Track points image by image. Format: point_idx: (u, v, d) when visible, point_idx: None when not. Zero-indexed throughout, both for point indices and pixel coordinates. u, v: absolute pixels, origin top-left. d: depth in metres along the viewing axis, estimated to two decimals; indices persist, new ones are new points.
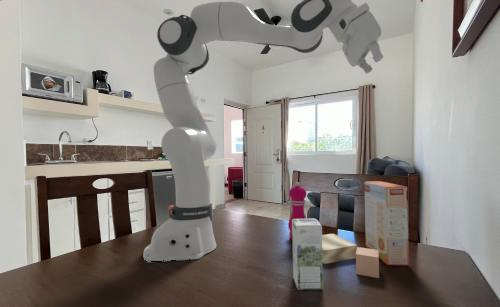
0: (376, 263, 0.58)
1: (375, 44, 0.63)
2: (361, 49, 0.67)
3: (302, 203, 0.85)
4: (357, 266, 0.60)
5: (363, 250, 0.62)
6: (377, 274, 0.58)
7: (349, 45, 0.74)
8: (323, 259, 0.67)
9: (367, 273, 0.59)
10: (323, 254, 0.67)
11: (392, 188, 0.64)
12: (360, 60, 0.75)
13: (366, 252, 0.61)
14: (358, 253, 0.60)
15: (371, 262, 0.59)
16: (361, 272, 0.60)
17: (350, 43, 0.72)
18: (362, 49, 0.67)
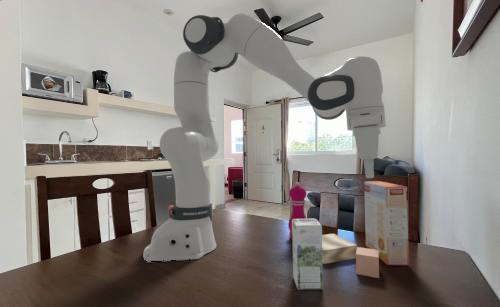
0: (376, 263, 0.58)
1: (370, 161, 0.56)
2: None
3: (302, 203, 0.85)
4: (357, 266, 0.60)
5: (363, 250, 0.62)
6: (377, 274, 0.58)
7: None
8: (322, 259, 0.67)
9: (367, 273, 0.59)
10: (323, 254, 0.67)
11: (392, 188, 0.64)
12: None
13: (366, 252, 0.61)
14: (358, 253, 0.60)
15: (371, 262, 0.59)
16: (361, 272, 0.60)
17: None
18: None
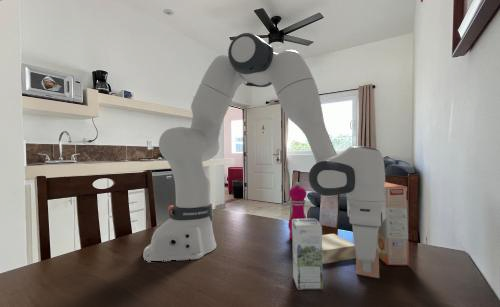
0: (376, 263, 0.58)
1: None
2: None
3: (302, 203, 0.85)
4: (357, 265, 0.60)
5: None
6: (377, 274, 0.58)
7: None
8: (322, 259, 0.67)
9: (367, 273, 0.59)
10: (323, 254, 0.67)
11: (392, 188, 0.64)
12: None
13: None
14: None
15: (371, 262, 0.59)
16: (361, 272, 0.60)
17: None
18: None
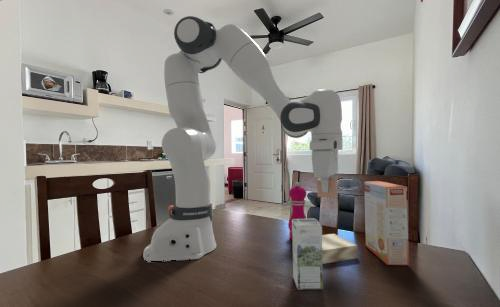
0: (333, 185, 0.70)
1: (325, 179, 0.69)
2: None
3: (302, 203, 0.85)
4: (318, 189, 0.72)
5: None
6: (334, 194, 0.70)
7: None
8: (322, 259, 0.67)
9: (326, 194, 0.71)
10: (322, 254, 0.67)
11: (392, 188, 0.64)
12: None
13: None
14: (319, 179, 0.72)
15: (329, 185, 0.70)
16: (321, 194, 0.71)
17: None
18: None
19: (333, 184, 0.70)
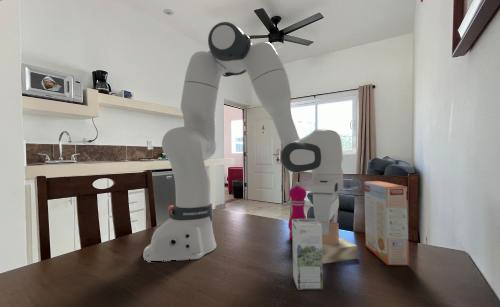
0: (334, 233, 0.70)
1: (325, 221, 0.68)
2: None
3: (302, 203, 0.85)
4: None
5: None
6: (335, 242, 0.70)
7: None
8: None
9: (327, 241, 0.71)
10: (322, 254, 0.67)
11: (392, 188, 0.64)
12: None
13: None
14: None
15: (330, 232, 0.71)
16: (322, 241, 0.72)
17: None
18: None
19: (334, 231, 0.70)
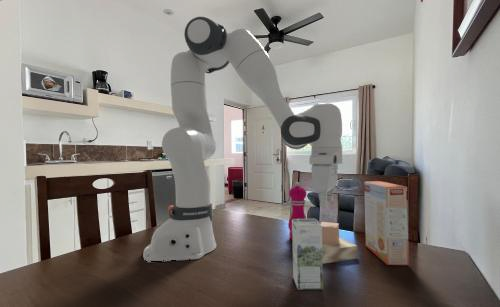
0: (334, 233, 0.70)
1: (323, 194, 0.67)
2: None
3: (302, 203, 0.85)
4: None
5: (325, 223, 0.74)
6: (335, 242, 0.70)
7: None
8: None
9: (327, 241, 0.71)
10: (322, 254, 0.67)
11: (392, 188, 0.64)
12: None
13: (328, 225, 0.73)
14: (321, 225, 0.72)
15: (331, 232, 0.71)
16: (323, 241, 0.72)
17: None
18: None
19: (335, 231, 0.70)
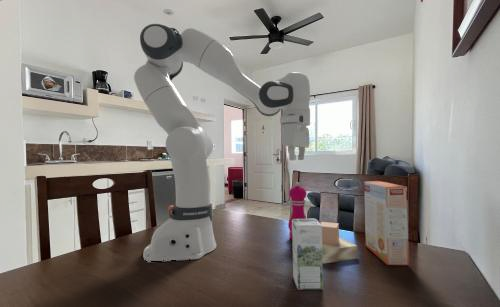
0: (334, 233, 0.70)
1: (291, 148, 0.79)
2: None
3: (302, 203, 0.85)
4: None
5: (325, 223, 0.74)
6: (335, 242, 0.70)
7: None
8: None
9: (328, 241, 0.71)
10: (322, 254, 0.67)
11: (392, 188, 0.64)
12: (300, 147, 0.90)
13: (328, 224, 0.73)
14: (321, 225, 0.72)
15: (331, 232, 0.70)
16: (323, 241, 0.71)
17: None
18: None
19: (335, 231, 0.70)
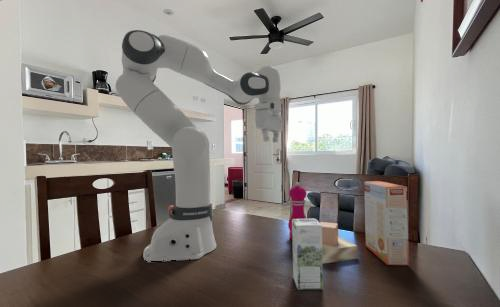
0: (333, 233, 0.70)
1: (264, 131, 0.93)
2: None
3: (302, 203, 0.85)
4: None
5: (324, 223, 0.74)
6: (334, 242, 0.70)
7: None
8: None
9: (327, 241, 0.71)
10: (322, 254, 0.67)
11: (392, 188, 0.64)
12: (274, 131, 1.04)
13: (327, 225, 0.73)
14: None
15: (330, 232, 0.70)
16: (322, 241, 0.71)
17: None
18: None
19: (334, 232, 0.70)
